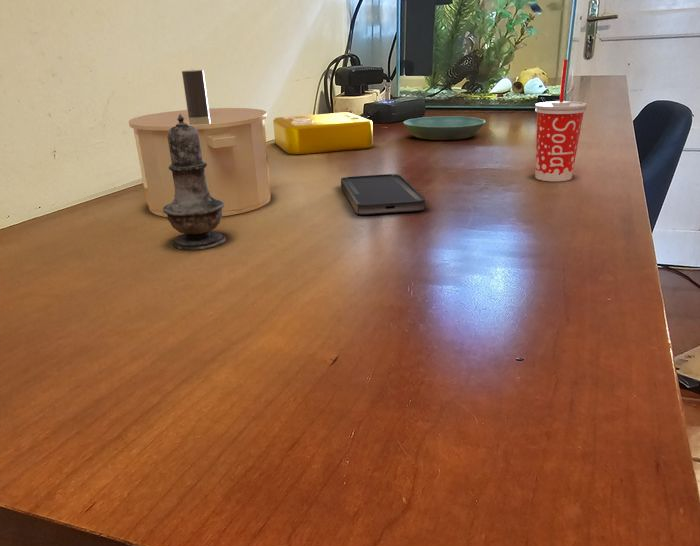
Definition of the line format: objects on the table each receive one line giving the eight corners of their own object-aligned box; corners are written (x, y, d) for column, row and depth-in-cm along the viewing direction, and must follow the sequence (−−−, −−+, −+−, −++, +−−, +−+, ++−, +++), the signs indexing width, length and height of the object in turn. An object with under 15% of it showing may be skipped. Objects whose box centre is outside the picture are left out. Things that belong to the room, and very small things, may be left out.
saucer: (478, 143, 108) (479, 127, 107) (394, 142, 113) (394, 126, 112) (489, 130, 121) (490, 115, 120) (413, 129, 125) (413, 115, 124)
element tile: (376, 148, 108) (375, 118, 106) (289, 156, 105) (286, 125, 102) (351, 136, 121) (350, 109, 119) (273, 142, 117) (270, 115, 115)
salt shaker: (157, 243, 63) (133, 116, 58) (205, 229, 67) (188, 108, 62) (192, 254, 60) (170, 119, 54) (241, 239, 64) (225, 111, 58)
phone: (398, 173, 83) (427, 200, 70) (398, 182, 84) (427, 210, 70) (338, 177, 82) (356, 205, 69) (339, 186, 83) (356, 215, 69)
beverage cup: (524, 181, 82) (534, 61, 75) (533, 171, 87) (544, 58, 80) (574, 183, 79) (589, 60, 73) (581, 173, 84) (595, 57, 78)
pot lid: (143, 141, 65) (132, 78, 62) (121, 125, 77) (111, 72, 75) (287, 126, 71) (282, 68, 68) (244, 113, 83) (239, 64, 81)
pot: (167, 231, 67) (151, 137, 63) (136, 194, 83) (121, 118, 79) (296, 211, 73) (289, 123, 68) (243, 180, 89) (235, 107, 85)
